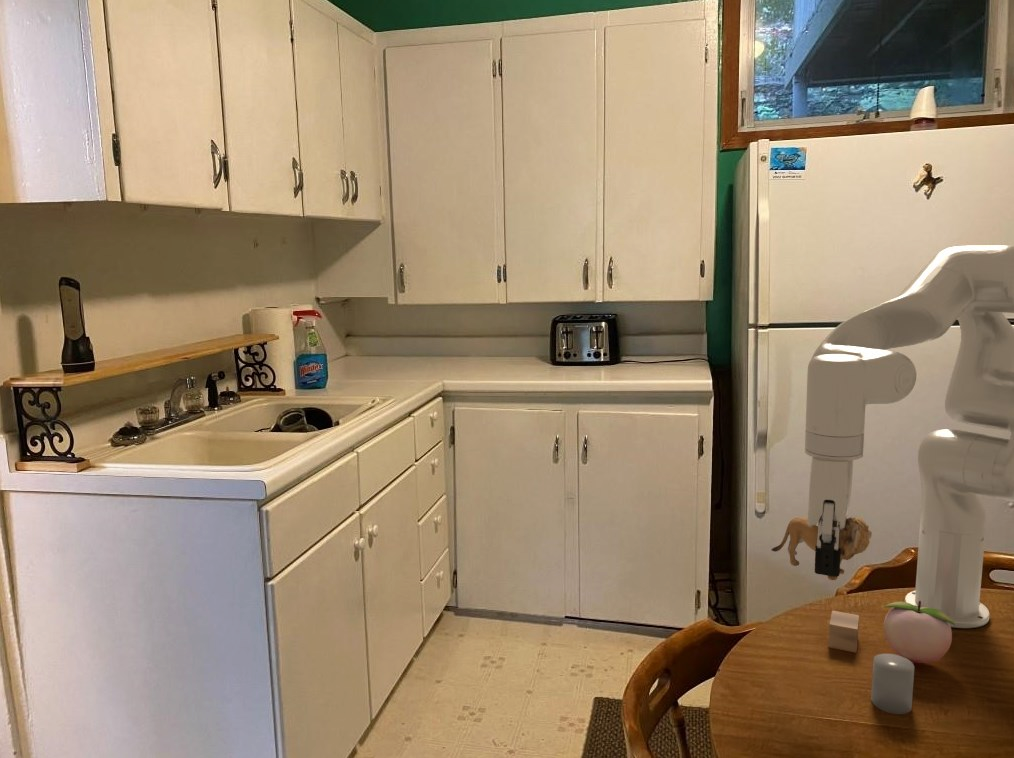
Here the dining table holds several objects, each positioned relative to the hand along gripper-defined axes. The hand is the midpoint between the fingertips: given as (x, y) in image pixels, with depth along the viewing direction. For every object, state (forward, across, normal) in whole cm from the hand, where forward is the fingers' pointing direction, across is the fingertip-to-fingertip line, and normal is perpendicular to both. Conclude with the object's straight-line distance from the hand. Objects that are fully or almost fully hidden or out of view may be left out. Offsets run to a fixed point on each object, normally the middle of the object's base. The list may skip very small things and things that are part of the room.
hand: (829, 563), depth 111 cm
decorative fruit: (+18, -9, +12) cm, 23 cm away
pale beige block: (+18, -11, +2) cm, 21 cm away
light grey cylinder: (+18, +4, +9) cm, 20 cm away
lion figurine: (+2, -1, -1) cm, 2 cm away
